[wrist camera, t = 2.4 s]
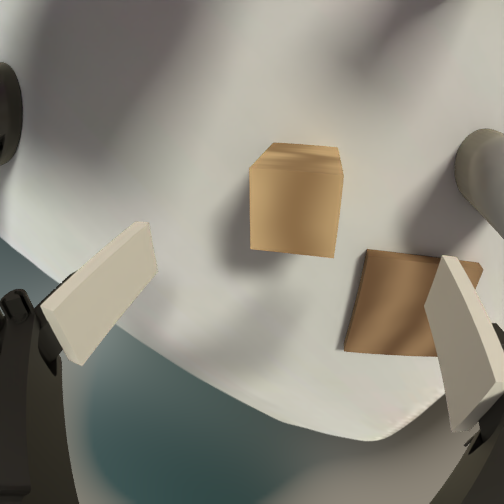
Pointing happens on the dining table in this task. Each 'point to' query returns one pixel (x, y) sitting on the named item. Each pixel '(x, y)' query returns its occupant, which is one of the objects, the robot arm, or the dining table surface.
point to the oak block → (296, 199)
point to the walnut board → (396, 304)
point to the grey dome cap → (483, 174)
